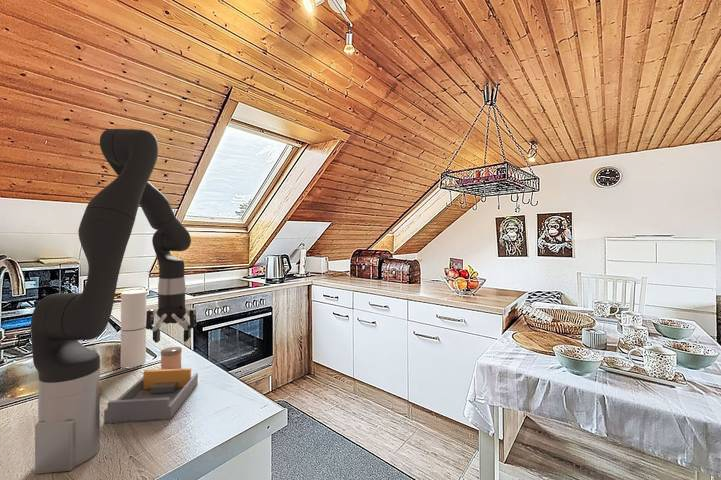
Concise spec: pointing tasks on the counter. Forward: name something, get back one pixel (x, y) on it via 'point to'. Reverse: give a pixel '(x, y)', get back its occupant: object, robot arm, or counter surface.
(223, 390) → the counter surface
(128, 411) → the lane
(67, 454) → the robot arm
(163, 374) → the pusher
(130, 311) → the cylindrical container
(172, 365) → the jar
